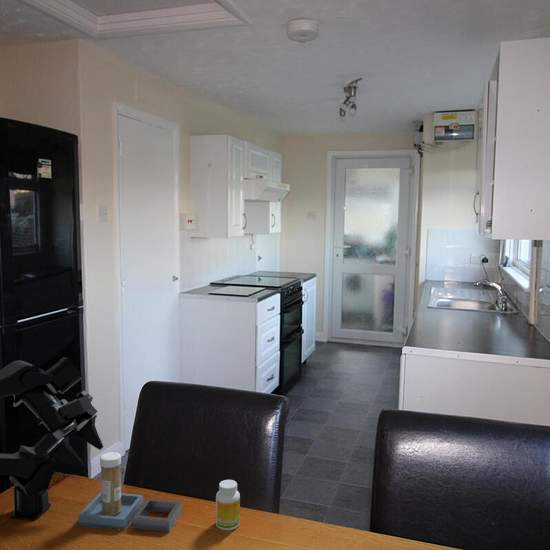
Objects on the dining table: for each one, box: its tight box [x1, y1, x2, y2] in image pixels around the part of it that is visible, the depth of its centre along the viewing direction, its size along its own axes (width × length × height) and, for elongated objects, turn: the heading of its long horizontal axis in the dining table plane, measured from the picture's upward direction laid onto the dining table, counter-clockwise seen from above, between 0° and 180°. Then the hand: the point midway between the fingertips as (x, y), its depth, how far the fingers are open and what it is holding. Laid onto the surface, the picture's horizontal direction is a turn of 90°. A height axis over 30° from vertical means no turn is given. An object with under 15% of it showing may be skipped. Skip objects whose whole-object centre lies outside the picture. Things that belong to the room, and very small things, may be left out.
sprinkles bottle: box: [99, 451, 122, 516], centre depth 122 cm, size 5×5×14 cm
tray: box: [78, 491, 144, 531], centre depth 123 cm, size 11×11×2 cm
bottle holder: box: [132, 497, 183, 533], centre depth 121 cm, size 8×8×2 cm
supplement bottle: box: [215, 479, 241, 531], centre depth 120 cm, size 5×5×10 cm
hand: (92, 456), depth 122 cm, fingers open, 9 cm apart
